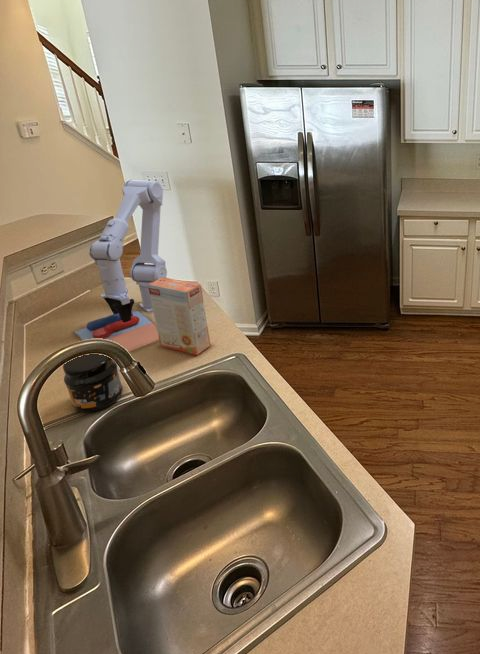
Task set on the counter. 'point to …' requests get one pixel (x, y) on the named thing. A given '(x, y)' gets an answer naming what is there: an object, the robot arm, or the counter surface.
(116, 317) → the blue spoon
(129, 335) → the sorting mat
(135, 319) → the red spoon
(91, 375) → the supplement container
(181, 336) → the cracker box
